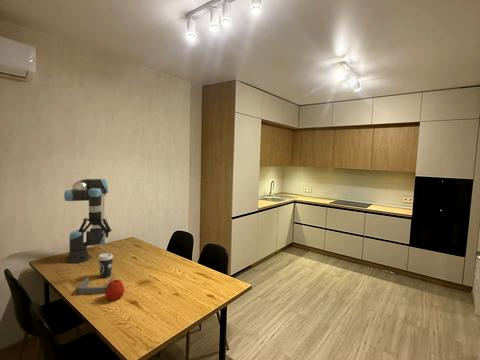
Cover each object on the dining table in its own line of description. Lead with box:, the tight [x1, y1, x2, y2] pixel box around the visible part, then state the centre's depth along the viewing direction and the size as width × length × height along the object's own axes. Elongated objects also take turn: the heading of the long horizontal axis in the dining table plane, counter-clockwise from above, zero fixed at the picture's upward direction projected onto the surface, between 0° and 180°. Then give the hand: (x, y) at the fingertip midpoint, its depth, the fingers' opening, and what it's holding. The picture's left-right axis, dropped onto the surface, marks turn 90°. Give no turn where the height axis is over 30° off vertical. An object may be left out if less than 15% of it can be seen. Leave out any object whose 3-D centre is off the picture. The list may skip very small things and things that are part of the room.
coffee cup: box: [97, 252, 114, 279], centre depth 180 cm, size 10×10×15 cm
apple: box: [104, 279, 125, 301], centre depth 154 cm, size 10×10×10 cm
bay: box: [76, 276, 115, 295], centre depth 164 cm, size 14×16×4 cm
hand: (95, 242), depth 178 cm, fingers open, 13 cm apart
